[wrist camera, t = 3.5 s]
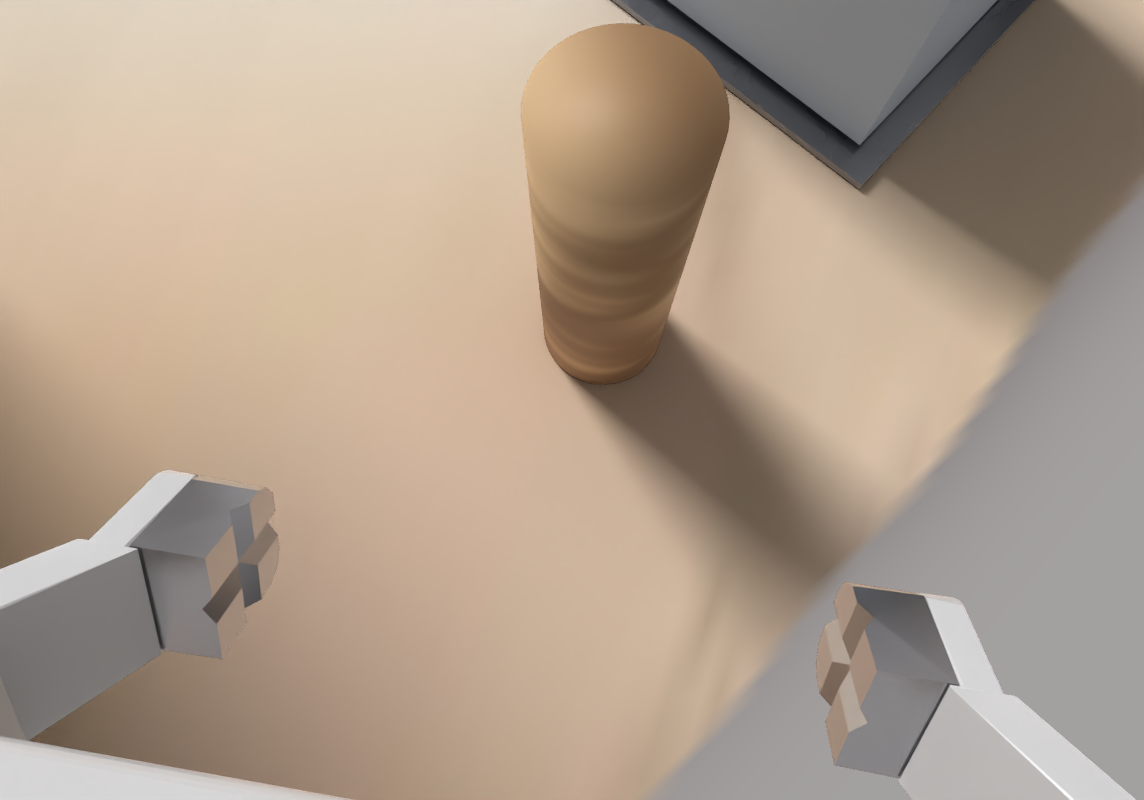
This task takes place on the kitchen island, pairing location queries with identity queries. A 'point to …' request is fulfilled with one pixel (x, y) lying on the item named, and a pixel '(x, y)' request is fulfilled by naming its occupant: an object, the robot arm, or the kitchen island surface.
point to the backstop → (807, 125)
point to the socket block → (841, 48)
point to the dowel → (617, 188)
